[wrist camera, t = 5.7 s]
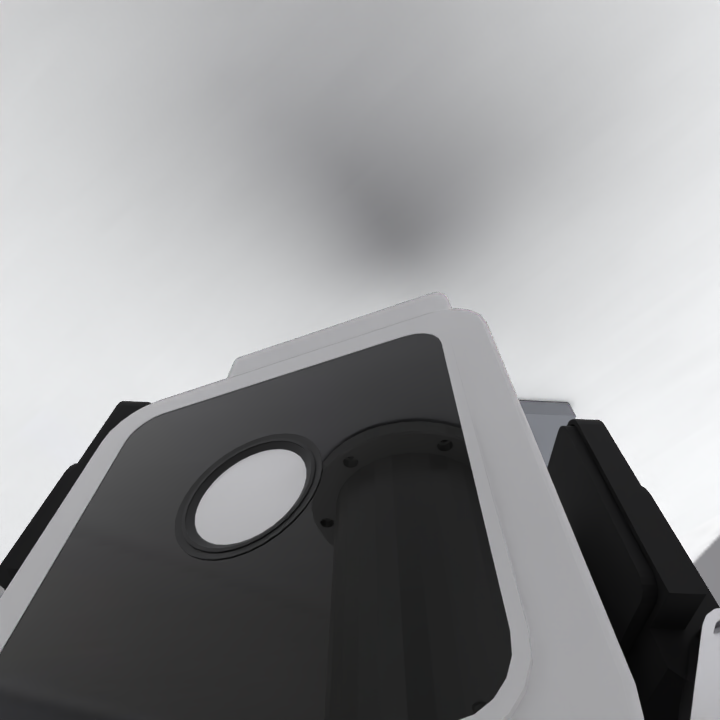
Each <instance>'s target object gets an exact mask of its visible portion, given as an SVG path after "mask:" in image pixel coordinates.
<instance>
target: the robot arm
mask: <svg viewBox="0 0 720 720" xmlns="http://www.w3.org/2000/svg"><path fill="white" fill-rule="evenodd" d="M149 404H151V403H149V402H132V401H122V402H120V403H119V404H118V405H117V406H116V408H115V409H114V410H113V412H112V413H111V415H110V416H109V418H108V419H107V421H106V422H105V424H104V425H103V427H102V428H101V430H100V431H99V433H98V434H97V435H96V437H95V438H94V440H93V441H92V443H91V444H90V446H89V447H88V449H87V450H86V452H85V453H84V455H83V456H82V458H81V459H80V460H79V462H78V463H77V464H74V465H72V466H70V467H69V468H68V469H67V470H66V471H65V473H64V474H63V476H62V477H61V478H60V480H59V481H58V483H57V484H56V486H55V487H54V489H53V490H52V491H51V493H50V494H49V496H48V497H47V499H46V500H45V501H44V503H43V504H42V506H41V507H40V509H39V510H38V512H37V513H36V514H35V516H34V517H33V519H32V520H31V522H30V523H29V524H28V526H27V527H26V529H25V530H24V532H23V533H22V535H21V536H20V537H19V539H18V540H17V542H16V543H15V545H14V546H13V548H12V549H11V550H10V552H9V553H8V555H7V556H6V558H5V559H4V560H3V562H2V563H1V565H0V598H1V596H2V595H3V593H4V592H5V590H6V589H7V587H8V586H9V584H10V583H11V581H12V579H13V578H14V576H15V575H16V573H17V572H18V570H19V569H20V567H21V566H22V564H23V563H24V561H25V559H26V558H27V556H28V555H29V553H30V552H31V550H32V549H33V547H34V546H35V544H36V542H37V541H38V539H39V538H40V536H41V535H42V533H43V532H44V530H45V529H46V527H47V526H48V524H49V522H50V521H51V519H52V518H53V516H54V515H55V513H56V512H57V510H58V509H59V507H60V505H61V504H62V502H63V501H64V499H65V498H66V496H67V495H68V493H69V492H70V490H71V489H72V487H73V485H74V484H75V482H76V481H77V479H78V478H79V476H80V475H81V473H82V472H83V470H84V468H85V467H86V465H87V464H88V462H89V461H90V459H91V458H92V456H93V455H94V453H95V452H96V450H97V448H98V447H99V445H100V444H101V442H102V441H103V440H104V439H105V437H106V436H107V435H108V434H109V432H110V431H111V430H112V429H113V428H115V427H116V426H117V425H118V424H119V423H120V422H121V421H123V420H124V419H125V418H127V417H128V416H130V415H131V414H132V413H134V412H136V411H137V410H139V409H141V408H143V407H145V406H147V405H149ZM547 470H548V472H549V475H550V477H551V480H552V482H553V485H554V487H555V489H556V492H557V494H558V497H559V499H560V502H561V504H562V506H563V509H564V511H565V514H566V516H567V519H568V521H569V524H570V526H571V528H572V531H573V533H574V536H575V538H576V541H577V543H578V545H579V548H580V550H581V553H582V555H583V558H584V560H585V562H586V565H587V567H588V570H589V572H590V575H591V577H592V579H593V582H594V584H595V587H596V589H597V592H598V594H599V597H600V599H601V601H602V604H603V606H604V609H605V611H606V614H607V616H608V618H609V621H610V623H611V626H612V628H613V631H614V633H615V635H616V638H617V640H618V643H619V645H620V648H621V650H622V652H623V655H624V657H625V660H626V662H627V665H628V667H629V669H630V672H631V674H632V677H633V679H634V682H635V684H636V688H637V692H638V696H639V700H640V704H641V708H642V712H643V716H644V720H720V607H719V606H718V604H717V602H716V601H715V599H714V597H713V596H712V594H711V592H710V591H709V589H708V588H707V586H706V584H705V583H704V581H703V579H702V578H701V576H700V574H699V573H698V571H697V570H696V568H695V566H694V565H693V563H692V561H691V560H690V558H689V556H688V555H687V553H686V552H685V550H684V548H683V547H682V545H681V543H680V542H679V540H678V538H677V537H676V535H675V534H674V532H673V530H672V529H671V527H670V525H669V524H668V522H667V520H666V519H665V517H664V516H663V514H662V512H661V511H660V509H659V507H658V506H657V504H656V503H655V501H654V499H653V498H652V496H651V494H650V493H649V492H648V491H647V490H646V488H644V487H642V486H641V485H640V483H639V481H638V480H637V478H636V476H635V475H634V473H633V471H632V470H631V468H630V466H629V465H628V463H627V461H626V460H625V458H624V456H623V455H622V453H621V452H620V450H619V448H618V447H617V445H616V443H615V442H614V440H613V438H612V437H611V435H610V433H609V432H608V430H607V428H606V427H605V425H604V424H603V422H602V421H600V420H585V419H571V420H570V421H569V422H568V424H567V426H561V427H560V428H559V430H558V433H557V436H556V440H555V443H554V446H553V450H552V453H551V456H550V460H549V463H548V466H547Z"/></svg>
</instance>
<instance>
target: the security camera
mask: <svg viewBox="0 0 720 720" xmlns="http://www.w3.org/2000/svg"><path fill="white" fill-rule="evenodd" d="M0 720H644V716H643V712H642V708H641V704H640V700H639V696H638V692H637V688H636V684H635V682H634V679H633V677H632V674H631V672H630V669H629V667H628V665H627V662H626V660H625V657H624V655H623V652H622V650H621V648H620V645H619V643H618V640H617V638H616V635H615V633H614V631H613V628H612V626H611V623H610V621H609V618H608V616H607V614H606V611H605V609H604V606H603V604H602V601H601V599H600V597H599V594H598V592H597V589H596V587H595V584H594V582H593V579H592V577H591V575H590V572H589V570H588V567H587V565H586V562H585V560H584V558H583V555H582V553H581V550H580V548H579V545H578V543H577V541H576V538H575V536H574V533H573V531H572V528H571V526H570V524H569V521H568V519H567V516H566V514H565V511H564V509H563V506H562V504H561V502H560V499H559V497H558V494H557V492H556V489H555V487H554V485H553V482H552V480H551V477H550V475H549V472H548V470H547V468H546V465H545V463H544V460H543V458H542V455H541V453H540V451H539V448H538V446H537V443H536V441H535V438H534V436H533V433H532V431H531V429H530V426H529V424H528V421H527V419H526V416H525V414H524V412H523V409H522V407H521V404H520V402H519V399H518V397H517V395H516V392H515V390H514V387H513V385H512V382H511V380H510V378H509V375H508V373H507V370H506V368H505V365H504V363H503V360H502V358H501V356H500V353H499V351H498V348H497V346H496V343H495V341H494V339H493V336H492V334H491V331H490V329H489V326H488V324H487V322H486V321H485V320H484V319H483V317H482V316H481V315H480V314H478V313H475V312H473V311H471V310H466V309H458V308H454V309H452V308H451V305H450V302H449V299H448V297H447V296H446V295H445V294H443V293H440V292H435V293H431V294H428V295H425V296H422V297H419V298H416V299H413V300H410V301H407V302H404V303H401V304H398V305H395V306H392V307H389V308H386V309H383V310H380V311H377V312H374V313H371V314H368V315H365V316H362V317H359V318H356V319H353V320H350V321H347V322H344V323H341V324H338V325H335V326H332V327H329V328H326V329H323V330H320V331H317V332H314V333H311V334H308V335H305V336H302V337H299V338H296V339H293V340H290V341H287V342H284V343H281V344H278V345H275V346H272V347H269V348H266V349H263V350H260V351H257V352H254V353H251V354H248V355H245V356H242V357H239V358H237V359H236V360H235V361H234V363H233V365H232V367H231V370H230V372H229V375H228V377H227V378H226V379H223V380H220V381H217V382H214V383H211V384H208V385H205V386H202V387H199V388H196V389H193V390H190V391H187V392H184V393H181V394H177V395H174V396H171V397H168V398H165V399H162V400H159V401H156V402H154V403H152V404H149V405H147V406H145V407H143V408H141V409H139V410H137V411H136V412H134V413H132V414H131V415H130V416H128V417H127V418H125V419H124V420H123V421H121V422H120V423H119V424H118V425H117V426H116V427H115V428H113V429H112V430H111V431H110V432H109V434H108V435H107V436H106V437H105V439H104V440H103V441H102V442H101V444H100V445H99V447H98V448H97V450H96V452H95V453H94V455H93V456H92V458H91V459H90V461H89V462H88V464H87V465H86V467H85V468H84V470H83V472H82V473H81V475H80V476H79V478H78V479H77V481H76V482H75V484H74V485H73V487H72V489H71V490H70V492H69V493H68V495H67V496H66V498H65V499H64V501H63V502H62V504H61V505H60V507H59V509H58V510H57V512H56V513H55V515H54V516H53V518H52V519H51V521H50V522H49V524H48V526H47V527H46V529H45V530H44V532H43V533H42V535H41V536H40V538H39V539H38V541H37V542H36V544H35V546H34V547H33V549H32V550H31V552H30V553H29V555H28V556H27V558H26V559H25V561H24V563H23V564H22V566H21V567H20V569H19V570H18V572H17V573H16V575H15V576H14V578H13V579H12V581H11V583H10V584H9V586H8V587H7V589H6V590H5V592H4V593H3V595H2V596H1V598H0Z"/></svg>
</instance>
